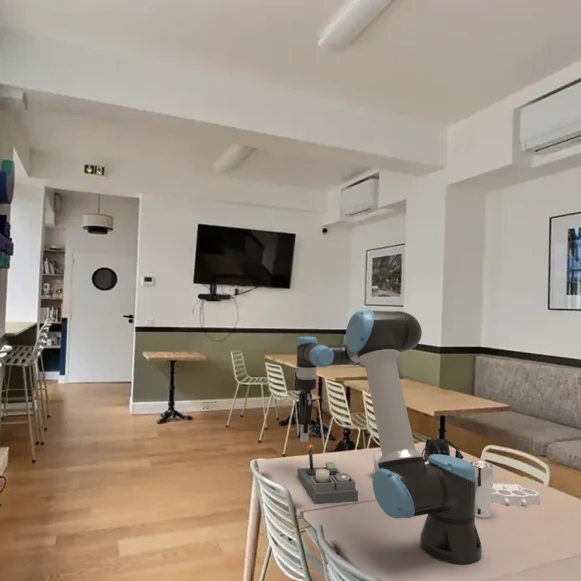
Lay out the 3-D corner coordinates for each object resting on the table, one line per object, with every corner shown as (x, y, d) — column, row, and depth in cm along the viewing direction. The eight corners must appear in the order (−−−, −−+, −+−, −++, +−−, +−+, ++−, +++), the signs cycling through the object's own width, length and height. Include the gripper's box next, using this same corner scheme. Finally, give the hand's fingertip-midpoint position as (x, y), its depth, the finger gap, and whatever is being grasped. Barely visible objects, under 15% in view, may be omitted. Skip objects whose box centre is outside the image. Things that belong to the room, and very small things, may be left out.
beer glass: (478, 519, 143) (478, 468, 144) (463, 510, 150) (464, 461, 151) (498, 517, 145) (498, 467, 146) (483, 508, 152) (483, 459, 152)
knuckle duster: (526, 492, 168) (546, 509, 153) (473, 489, 169) (488, 507, 154) (526, 482, 168) (546, 499, 153) (473, 480, 169) (488, 496, 154)
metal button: (351, 486, 157) (351, 476, 158) (338, 487, 157) (338, 477, 157) (346, 481, 162) (346, 472, 162) (334, 482, 161) (334, 472, 161)
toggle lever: (316, 470, 170) (314, 443, 173) (309, 470, 169) (307, 443, 172) (314, 470, 172) (312, 443, 175) (307, 471, 171) (305, 444, 175)
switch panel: (357, 501, 155) (358, 483, 155) (315, 503, 152) (316, 486, 152) (334, 474, 178) (335, 459, 179) (297, 476, 175) (298, 461, 175)
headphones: (407, 444, 200) (431, 468, 181) (431, 422, 201) (457, 443, 182) (426, 465, 204) (451, 490, 184) (449, 443, 205) (476, 466, 185)
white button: (330, 482, 156) (330, 473, 156) (317, 483, 155) (317, 473, 155) (326, 477, 160) (327, 468, 160) (313, 478, 159) (314, 469, 159)
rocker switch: (336, 471, 170) (336, 467, 170) (328, 471, 169) (329, 468, 169) (332, 465, 174) (333, 462, 174) (325, 465, 174) (325, 462, 173)
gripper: (292, 375, 188) (290, 436, 187) (300, 380, 175) (298, 446, 174) (311, 375, 189) (309, 436, 189) (320, 380, 176) (318, 446, 176)
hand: (304, 441), depth 181 cm, fingers closed
